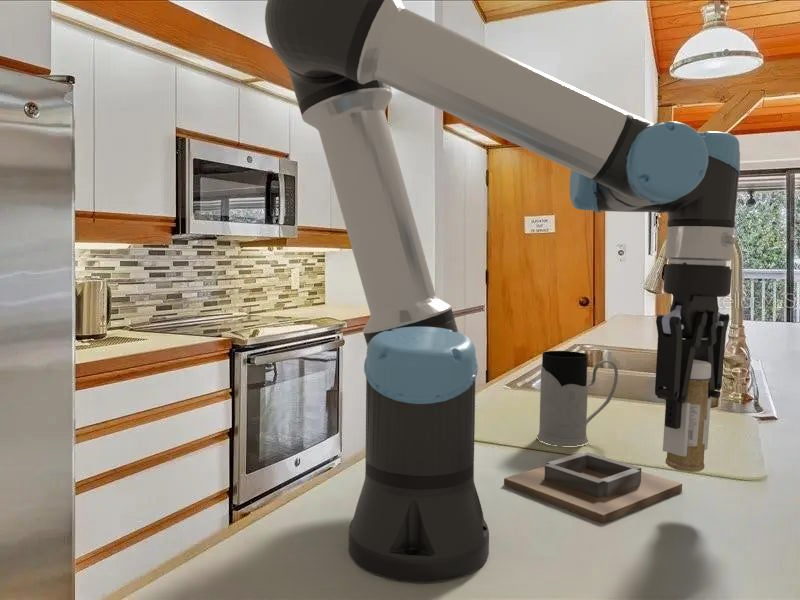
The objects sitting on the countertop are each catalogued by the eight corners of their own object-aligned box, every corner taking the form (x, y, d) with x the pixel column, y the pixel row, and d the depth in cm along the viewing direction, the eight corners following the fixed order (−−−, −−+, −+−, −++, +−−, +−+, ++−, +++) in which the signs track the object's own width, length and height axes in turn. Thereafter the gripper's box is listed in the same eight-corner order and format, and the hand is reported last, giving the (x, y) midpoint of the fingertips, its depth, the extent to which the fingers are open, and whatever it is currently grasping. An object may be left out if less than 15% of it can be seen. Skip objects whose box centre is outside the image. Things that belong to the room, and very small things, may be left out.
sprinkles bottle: (711, 469, 82) (719, 362, 81) (690, 475, 79) (697, 364, 78) (678, 459, 85) (685, 356, 84) (656, 464, 83) (663, 359, 82)
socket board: (603, 523, 78) (604, 498, 78) (503, 485, 91) (504, 463, 91) (682, 490, 89) (682, 469, 89) (583, 460, 102) (584, 441, 102)
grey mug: (528, 434, 117) (530, 350, 116) (602, 431, 119) (605, 349, 118) (548, 448, 108) (551, 358, 107) (628, 445, 111) (631, 356, 110)
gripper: (691, 262, 72) (676, 470, 74) (761, 265, 83) (748, 446, 85) (630, 260, 78) (618, 453, 80) (703, 263, 89) (691, 432, 90)
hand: (685, 449), depth 82 cm, fingers closed on sprinkles bottle, 4 cm apart
